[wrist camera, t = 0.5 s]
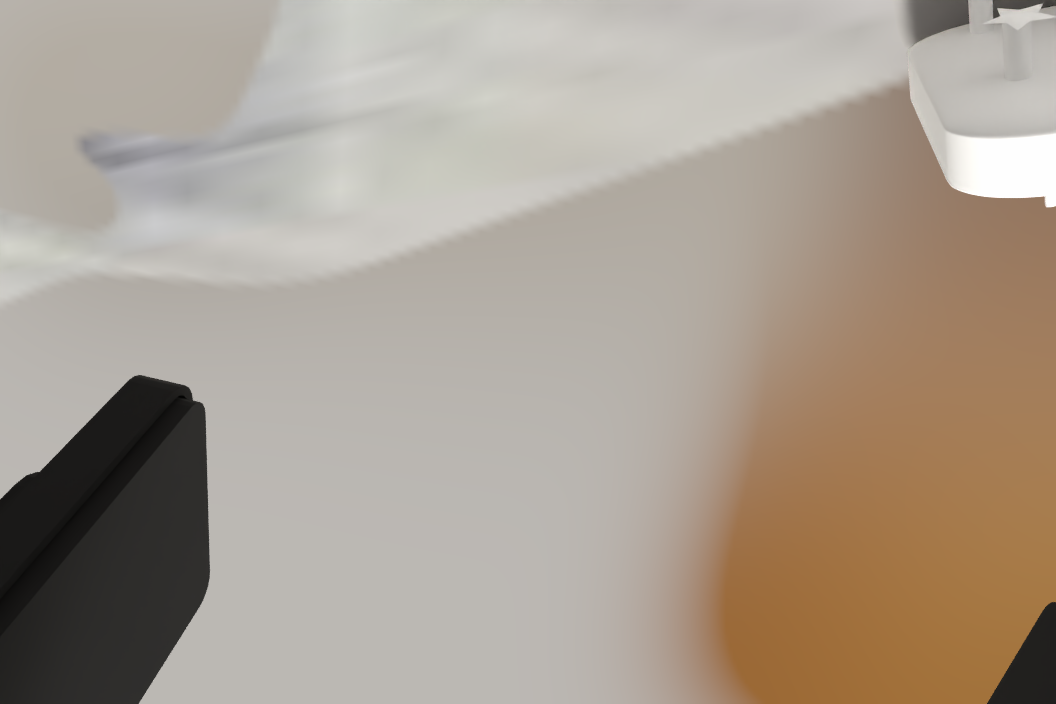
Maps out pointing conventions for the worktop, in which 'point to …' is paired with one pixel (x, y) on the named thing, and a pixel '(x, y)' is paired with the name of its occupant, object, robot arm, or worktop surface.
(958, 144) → the cable organizer
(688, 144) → the worktop surface
